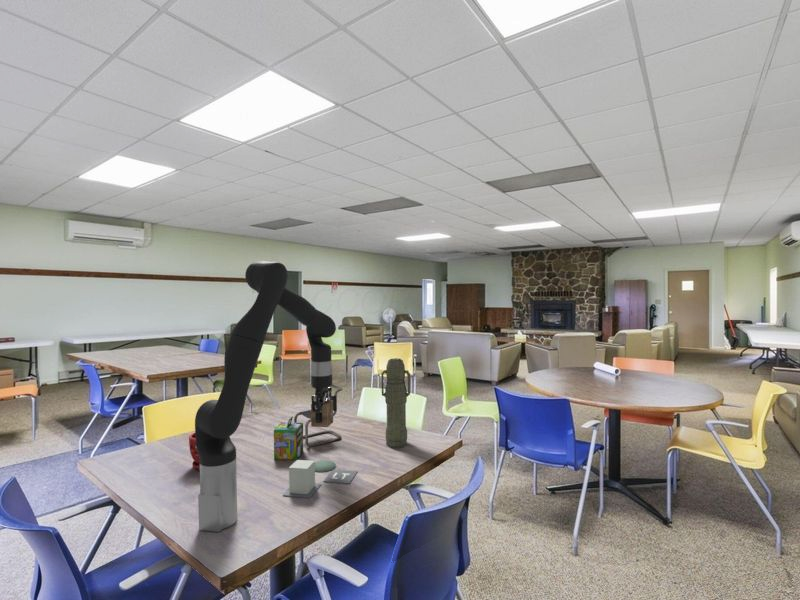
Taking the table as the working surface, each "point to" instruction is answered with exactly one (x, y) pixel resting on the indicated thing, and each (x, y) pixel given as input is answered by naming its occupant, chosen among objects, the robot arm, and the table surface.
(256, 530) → the table surface
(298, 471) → the sage block
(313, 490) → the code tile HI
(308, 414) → the chair
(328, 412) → the walnut block
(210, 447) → the robot arm
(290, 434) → the chalk box
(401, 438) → the thermos
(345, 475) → the tile
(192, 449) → the plant pot
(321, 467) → the rubber coaster
